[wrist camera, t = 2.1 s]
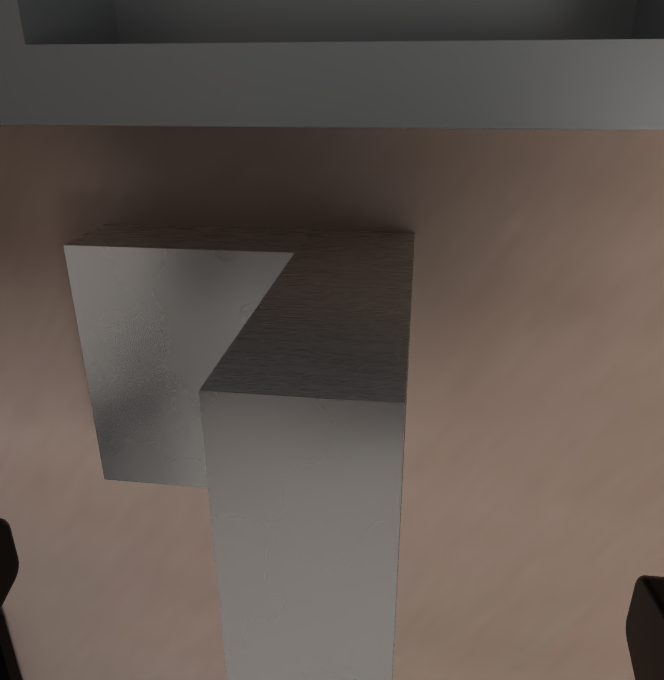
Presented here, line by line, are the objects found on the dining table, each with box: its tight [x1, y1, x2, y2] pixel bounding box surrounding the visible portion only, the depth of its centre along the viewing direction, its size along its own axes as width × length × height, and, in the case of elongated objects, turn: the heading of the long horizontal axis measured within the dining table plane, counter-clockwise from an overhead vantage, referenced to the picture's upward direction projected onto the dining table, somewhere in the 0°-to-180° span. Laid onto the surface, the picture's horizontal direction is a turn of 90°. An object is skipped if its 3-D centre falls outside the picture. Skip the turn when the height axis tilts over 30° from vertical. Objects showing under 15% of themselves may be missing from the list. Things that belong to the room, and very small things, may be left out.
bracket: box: [63, 224, 415, 680], centre depth 12 cm, size 6×7×8 cm
